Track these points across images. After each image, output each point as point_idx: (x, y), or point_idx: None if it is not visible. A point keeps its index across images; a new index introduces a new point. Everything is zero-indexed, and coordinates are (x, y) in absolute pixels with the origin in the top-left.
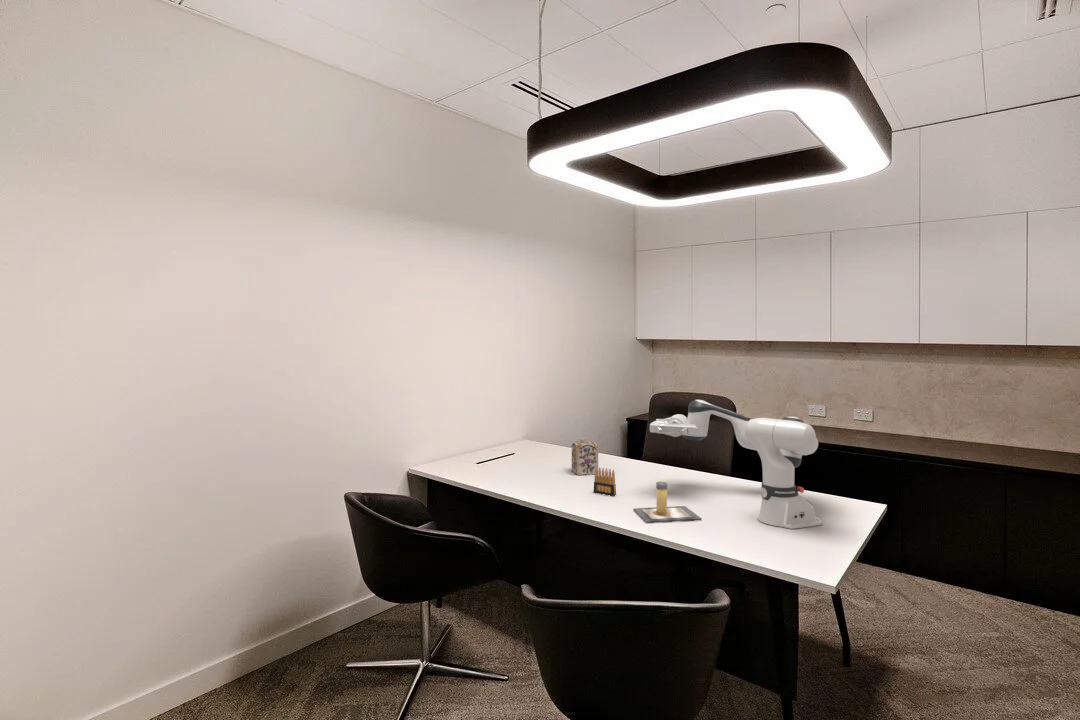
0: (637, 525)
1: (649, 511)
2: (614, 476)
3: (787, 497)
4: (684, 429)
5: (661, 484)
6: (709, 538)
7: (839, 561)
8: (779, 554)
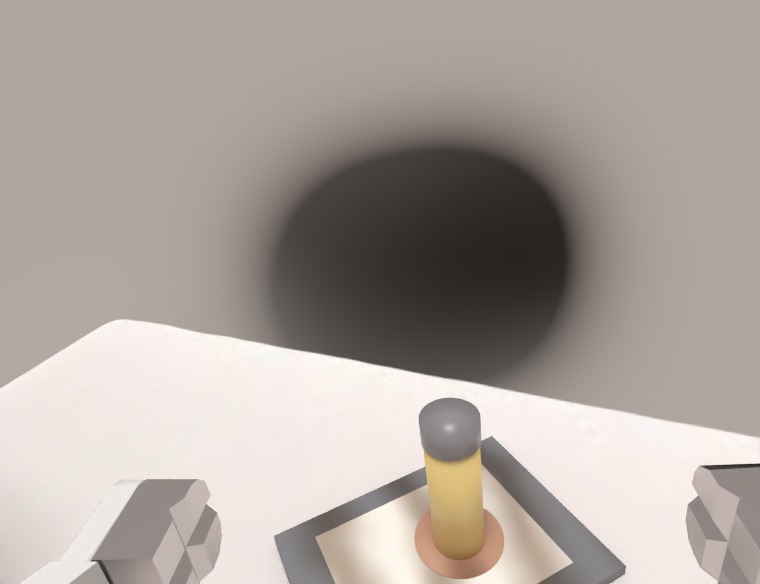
0: (514, 417)
1: (523, 542)
2: None
3: None
4: (44, 566)
5: (444, 398)
6: (279, 402)
7: (11, 387)
8: (131, 378)
